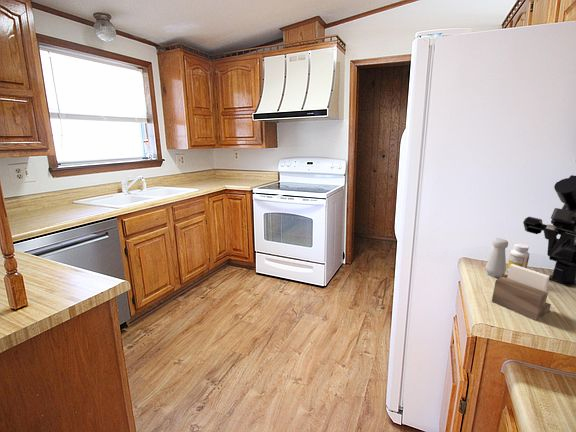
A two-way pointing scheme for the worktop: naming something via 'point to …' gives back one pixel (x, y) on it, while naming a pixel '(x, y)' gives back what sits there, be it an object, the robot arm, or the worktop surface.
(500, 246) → the salt shaker
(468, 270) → the worktop surface
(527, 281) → the button plate
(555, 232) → the robot arm
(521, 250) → the supplement bottle
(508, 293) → the brown wooden stand
